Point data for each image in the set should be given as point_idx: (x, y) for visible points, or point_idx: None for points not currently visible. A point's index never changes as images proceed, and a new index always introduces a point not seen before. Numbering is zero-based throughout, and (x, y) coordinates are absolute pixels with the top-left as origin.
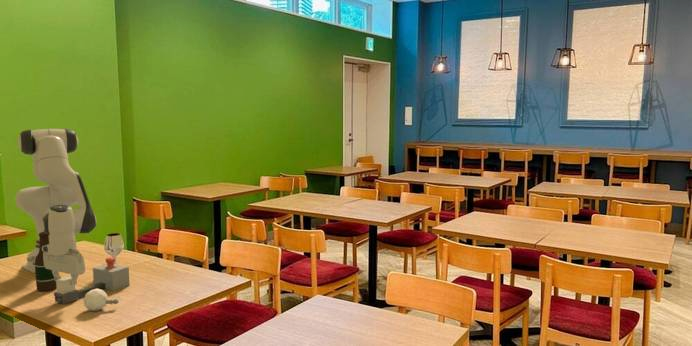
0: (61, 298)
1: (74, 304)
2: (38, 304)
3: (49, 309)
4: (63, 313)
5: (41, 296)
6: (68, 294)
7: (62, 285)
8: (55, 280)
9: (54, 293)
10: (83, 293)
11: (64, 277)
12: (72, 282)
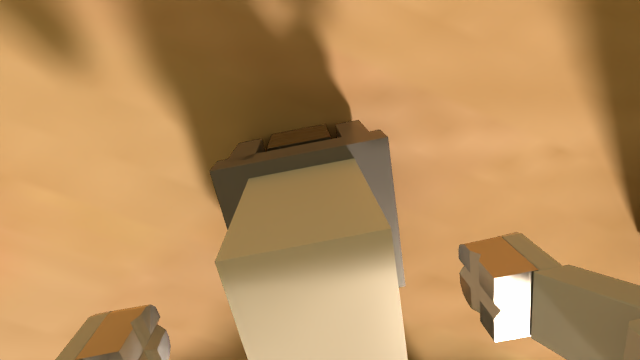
0: None
1: (196, 202)
2: (444, 3)
3: (230, 15)
4: (28, 57)
5: (610, 108)
6: (228, 217)
7: (231, 228)
8: (499, 239)
9: (372, 137)
10: None
11: (401, 353)
12: (69, 346)
